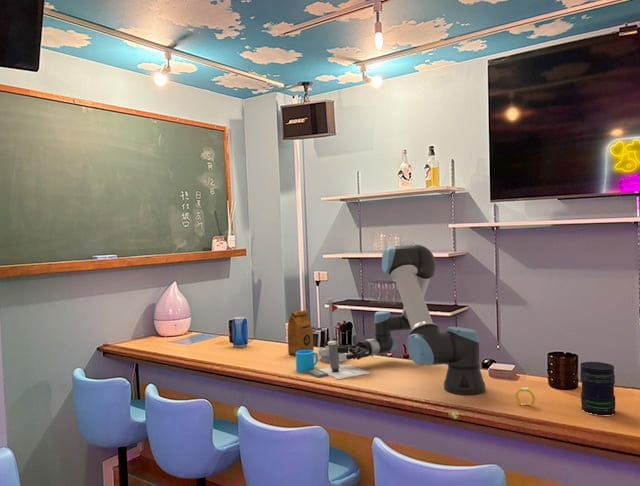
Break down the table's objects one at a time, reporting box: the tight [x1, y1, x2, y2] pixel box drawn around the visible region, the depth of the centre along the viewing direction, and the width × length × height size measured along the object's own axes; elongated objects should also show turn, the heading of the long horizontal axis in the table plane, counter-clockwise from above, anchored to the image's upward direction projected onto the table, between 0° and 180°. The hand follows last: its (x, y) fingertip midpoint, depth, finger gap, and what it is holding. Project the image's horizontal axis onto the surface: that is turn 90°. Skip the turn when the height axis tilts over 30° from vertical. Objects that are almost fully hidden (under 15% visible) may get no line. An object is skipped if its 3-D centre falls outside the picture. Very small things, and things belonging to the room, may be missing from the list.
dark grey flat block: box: [306, 368, 329, 379], centre depth 222 cm, size 10×5×1 cm, turn 30°
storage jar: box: [579, 361, 616, 415], centre depth 166 cm, size 10×10×15 cm
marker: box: [327, 340, 340, 372], centre depth 224 cm, size 4×4×13 cm
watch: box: [515, 386, 536, 407], centre depth 174 cm, size 6×3×6 cm, turn 51°
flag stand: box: [318, 297, 346, 363], centre depth 247 cm, size 13×13×30 cm
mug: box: [295, 350, 319, 373], centre depth 231 cm, size 12×8×8 cm
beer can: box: [231, 316, 249, 349], centre depth 286 cm, size 8×8×16 cm
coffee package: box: [287, 309, 315, 356], centre depth 263 cm, size 10×12×22 cm
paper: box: [318, 364, 371, 381], centre depth 224 cm, size 18×16×1 cm
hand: (330, 355), depth 222 cm, fingers open, 13 cm apart
